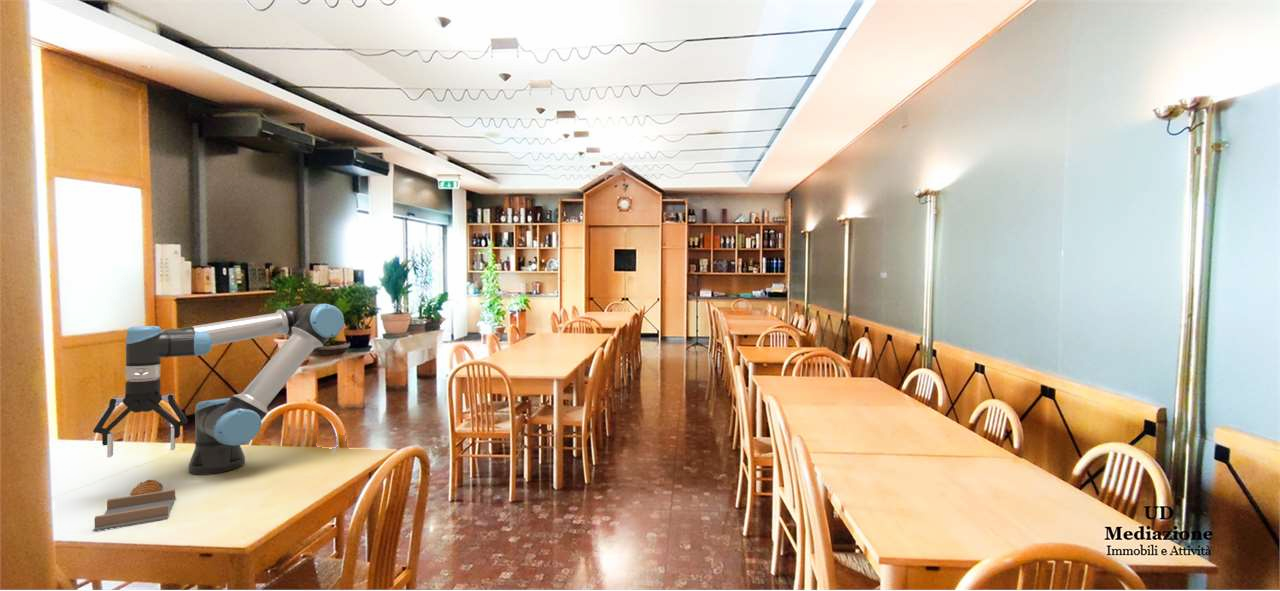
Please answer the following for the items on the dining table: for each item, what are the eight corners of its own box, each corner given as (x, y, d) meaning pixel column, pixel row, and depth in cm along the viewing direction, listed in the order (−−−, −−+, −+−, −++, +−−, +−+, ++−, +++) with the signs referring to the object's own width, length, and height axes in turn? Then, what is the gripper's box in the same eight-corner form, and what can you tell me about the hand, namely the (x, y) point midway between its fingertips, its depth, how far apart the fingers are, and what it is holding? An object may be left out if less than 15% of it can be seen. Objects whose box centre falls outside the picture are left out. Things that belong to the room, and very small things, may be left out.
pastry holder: (175, 498, 158) (175, 487, 158) (167, 519, 144) (167, 507, 144) (109, 509, 150) (109, 497, 150) (93, 532, 136) (93, 519, 136)
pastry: (157, 500, 157) (157, 486, 157) (126, 505, 154) (126, 491, 154) (163, 489, 165) (163, 477, 165) (133, 494, 162) (133, 481, 162)
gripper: (79, 384, 149) (78, 462, 149) (197, 378, 163) (196, 449, 163) (86, 381, 155) (85, 455, 155) (199, 374, 169) (198, 443, 169)
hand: (142, 452), depth 159 cm, fingers open, 13 cm apart
